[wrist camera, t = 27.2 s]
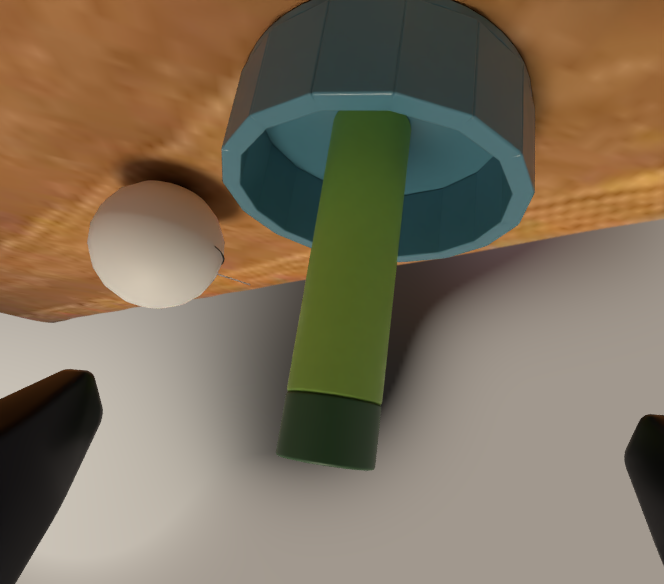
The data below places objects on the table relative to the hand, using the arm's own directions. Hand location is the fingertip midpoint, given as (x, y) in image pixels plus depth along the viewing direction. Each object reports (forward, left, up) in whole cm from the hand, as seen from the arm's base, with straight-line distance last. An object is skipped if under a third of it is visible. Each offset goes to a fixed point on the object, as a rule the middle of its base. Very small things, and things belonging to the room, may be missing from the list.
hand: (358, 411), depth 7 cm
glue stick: (-1, +7, -12) cm, 14 cm away
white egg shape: (+7, +19, -12) cm, 24 cm away
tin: (-2, +7, -12) cm, 14 cm away
